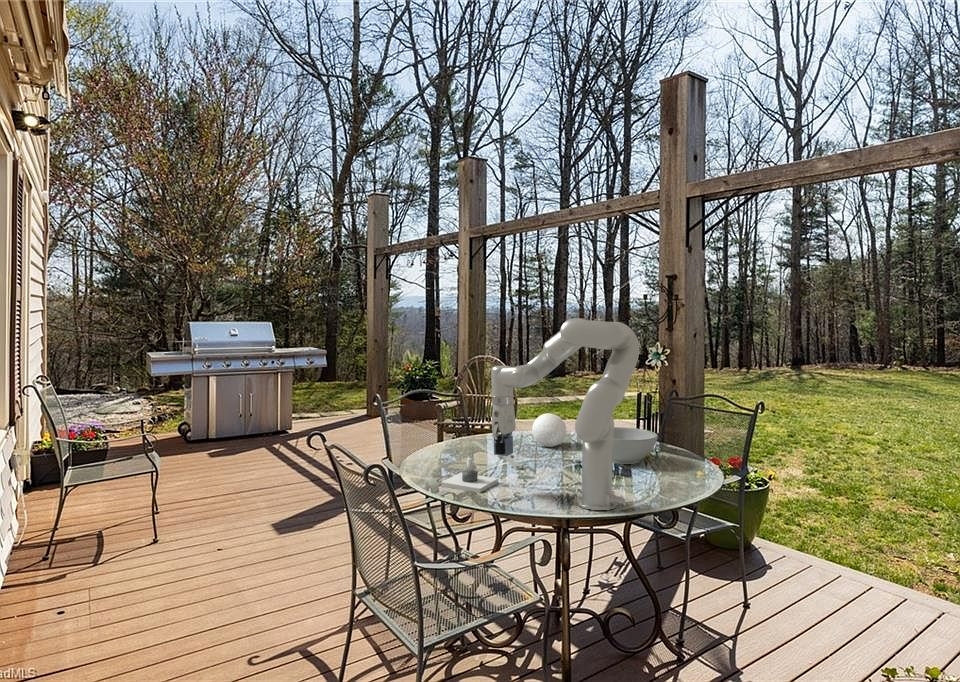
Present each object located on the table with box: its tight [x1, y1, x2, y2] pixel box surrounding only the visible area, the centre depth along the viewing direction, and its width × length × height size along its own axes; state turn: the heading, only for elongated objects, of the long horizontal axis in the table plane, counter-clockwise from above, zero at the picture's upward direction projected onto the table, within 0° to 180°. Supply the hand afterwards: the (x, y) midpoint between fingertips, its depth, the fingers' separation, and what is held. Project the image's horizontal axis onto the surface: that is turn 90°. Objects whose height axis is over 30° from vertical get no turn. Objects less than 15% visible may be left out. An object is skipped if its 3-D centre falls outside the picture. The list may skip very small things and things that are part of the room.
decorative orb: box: [531, 412, 567, 448], centre depth 260 cm, size 20×18×16 cm
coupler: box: [493, 432, 514, 456], centre depth 192 cm, size 5×5×7 cm
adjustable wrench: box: [497, 453, 523, 471], centre depth 231 cm, size 25×6×2 cm, turn 8°
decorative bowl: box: [612, 426, 659, 465], centre depth 233 cm, size 27×27×12 cm
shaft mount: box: [440, 457, 499, 494], centre depth 199 cm, size 16×14×10 cm
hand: (503, 451), depth 192 cm, fingers closed on coupler, 5 cm apart
